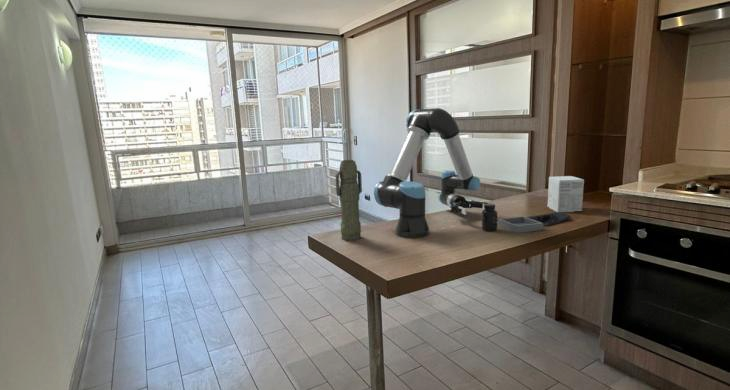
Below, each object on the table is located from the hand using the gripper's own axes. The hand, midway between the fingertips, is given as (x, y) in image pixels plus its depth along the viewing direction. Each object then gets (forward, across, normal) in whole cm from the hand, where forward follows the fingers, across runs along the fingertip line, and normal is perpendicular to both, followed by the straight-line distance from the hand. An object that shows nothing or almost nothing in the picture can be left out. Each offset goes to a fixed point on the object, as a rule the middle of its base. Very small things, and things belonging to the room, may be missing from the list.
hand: (478, 210), depth 191 cm
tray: (+12, -15, -7) cm, 20 cm away
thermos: (-2, +63, -7) cm, 64 cm away
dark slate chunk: (+6, -35, -8) cm, 37 cm away
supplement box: (-9, -59, -8) cm, 60 cm away
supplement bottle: (+10, 0, -7) cm, 12 cm away
